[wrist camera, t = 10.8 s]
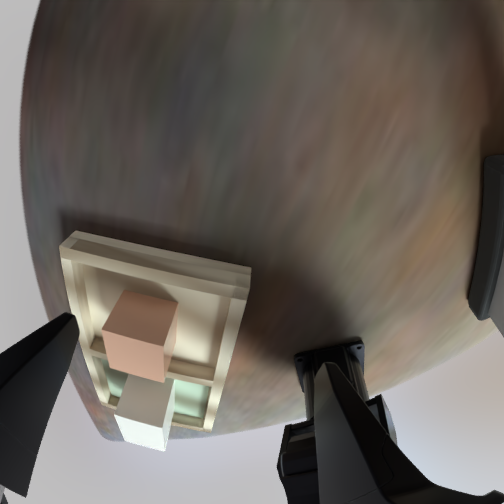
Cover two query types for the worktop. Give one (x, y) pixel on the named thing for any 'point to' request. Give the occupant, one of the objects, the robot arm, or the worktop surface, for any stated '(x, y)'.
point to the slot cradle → (168, 288)
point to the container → (490, 248)
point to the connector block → (146, 411)
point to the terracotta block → (141, 335)
